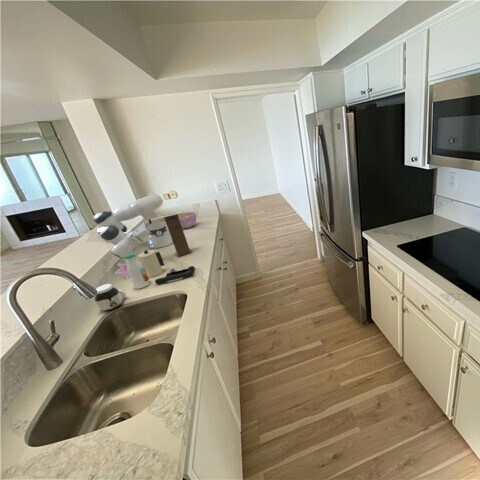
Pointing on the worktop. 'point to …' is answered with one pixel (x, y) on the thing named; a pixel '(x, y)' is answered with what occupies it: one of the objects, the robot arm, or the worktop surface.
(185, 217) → the bowl of food
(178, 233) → the stand
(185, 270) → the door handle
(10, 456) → the worktop surface
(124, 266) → the lily
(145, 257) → the kettle
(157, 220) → the switch bar
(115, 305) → the spread jar
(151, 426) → the worktop surface
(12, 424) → the worktop surface
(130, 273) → the milk bottle
